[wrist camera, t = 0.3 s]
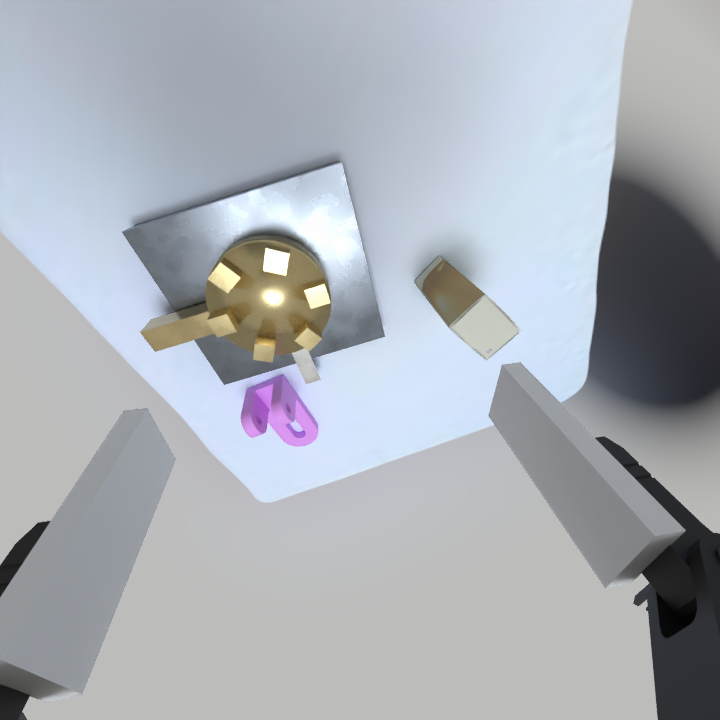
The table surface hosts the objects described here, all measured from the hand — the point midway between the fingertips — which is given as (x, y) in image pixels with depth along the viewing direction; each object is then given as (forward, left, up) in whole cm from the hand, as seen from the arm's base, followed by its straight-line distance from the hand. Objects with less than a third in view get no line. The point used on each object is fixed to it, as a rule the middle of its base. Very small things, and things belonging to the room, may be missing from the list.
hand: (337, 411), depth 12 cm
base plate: (+5, -6, -27) cm, 28 cm away
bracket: (+22, -12, -27) cm, 37 cm away
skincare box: (+9, +13, -27) cm, 32 cm away
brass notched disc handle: (+3, -9, -24) cm, 26 cm away
